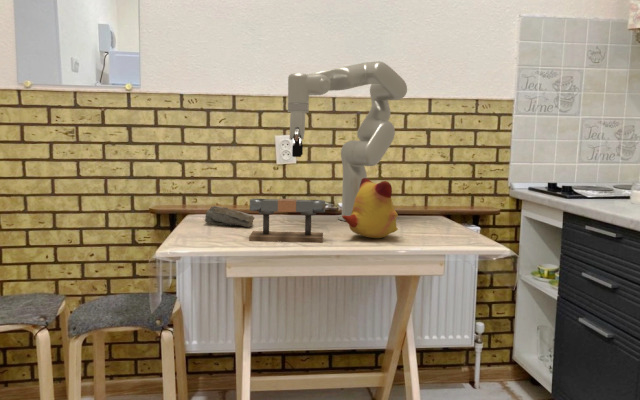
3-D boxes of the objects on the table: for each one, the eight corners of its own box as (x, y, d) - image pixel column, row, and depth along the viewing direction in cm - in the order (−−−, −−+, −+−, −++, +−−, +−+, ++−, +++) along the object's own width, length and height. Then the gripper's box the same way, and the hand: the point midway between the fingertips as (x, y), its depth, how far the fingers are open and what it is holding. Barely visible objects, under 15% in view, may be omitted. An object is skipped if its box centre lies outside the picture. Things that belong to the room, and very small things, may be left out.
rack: (322, 236, 196) (323, 209, 195) (322, 242, 187) (323, 213, 186) (252, 235, 197) (252, 207, 195) (249, 240, 188) (249, 212, 186)
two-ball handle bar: (325, 210, 193) (325, 199, 193) (324, 212, 188) (325, 201, 188) (250, 208, 193) (250, 197, 193) (248, 211, 188) (248, 199, 188)
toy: (409, 240, 193) (412, 181, 190) (359, 247, 182) (361, 184, 179) (373, 230, 210) (375, 175, 207) (325, 235, 198) (326, 178, 196)
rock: (240, 241, 207) (251, 216, 207) (197, 220, 210) (207, 195, 209) (249, 239, 218) (259, 215, 217) (207, 220, 221) (217, 196, 220)
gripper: (289, 108, 216) (288, 154, 219) (286, 107, 199) (285, 157, 202) (309, 109, 216) (308, 154, 219) (307, 108, 199) (306, 157, 202)
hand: (297, 155), depth 210 cm, fingers open, 9 cm apart
